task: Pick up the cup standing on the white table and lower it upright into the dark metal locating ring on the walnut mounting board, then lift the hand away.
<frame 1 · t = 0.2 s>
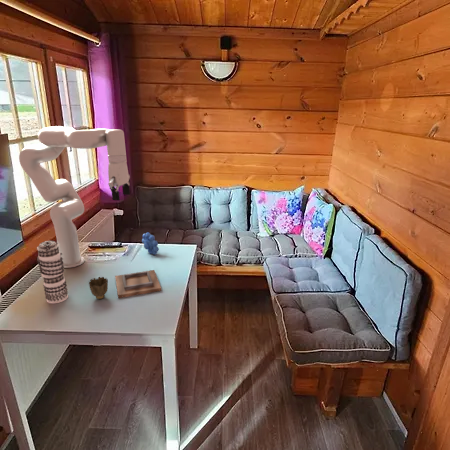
hand: (121, 197, 158), 37 cm above the table, tool pointing down, fingers open, 9 cm apart
cup: (100, 298, 148), on the table
decorative candle: (57, 298, 148), on the table
grapes: (149, 254, 189), on the table
mounting board: (137, 284, 158), on the table
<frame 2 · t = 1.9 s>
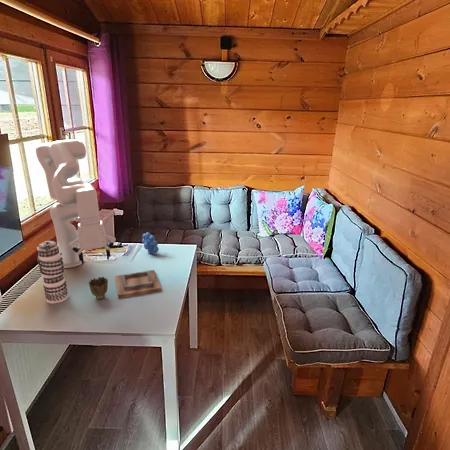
hand: (95, 260, 142), 18 cm above the table, tool pointing down, fingers open, 9 cm apart
nothing on the table moved.
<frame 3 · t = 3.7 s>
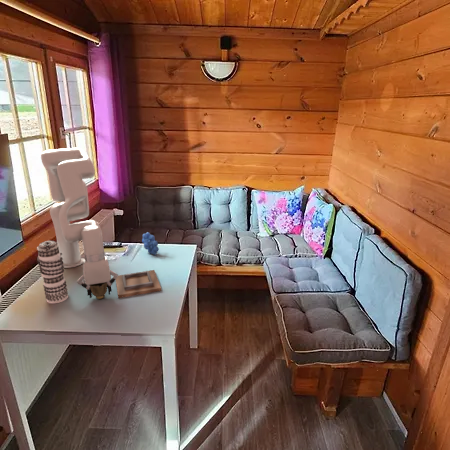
hand: (100, 294, 147), 2 cm above the table, tool pointing down, fingers closed on cup, 6 cm apart
cup: (100, 298, 148), on the table, touching gripper
everything else where it was.
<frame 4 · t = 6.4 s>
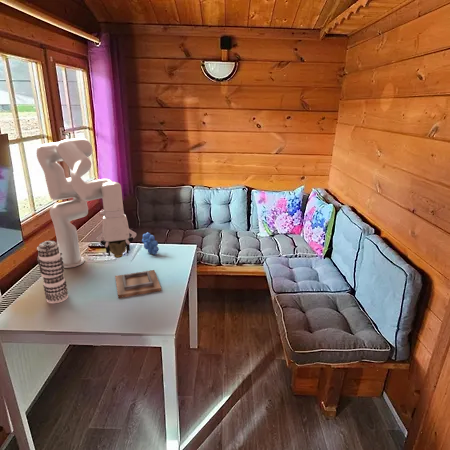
hand: (118, 253, 148), 18 cm above the table, tool pointing down, fingers closed on cup, 6 cm apart
cup: (118, 257, 148), point 16 cm above the table, touching gripper
everything else where it was.
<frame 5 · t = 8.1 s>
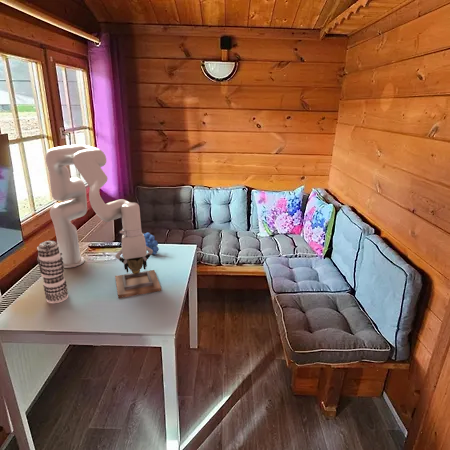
hand: (135, 269, 156), 8 cm above the table, tool pointing down, fingers closed on cup, 6 cm apart
cup: (136, 272, 156), point 6 cm above the table, touching gripper
everything else where it was.
when the fingers open (4 cm above the table, at t = 9.4 s): cup stays where it is, resting on mounting board.
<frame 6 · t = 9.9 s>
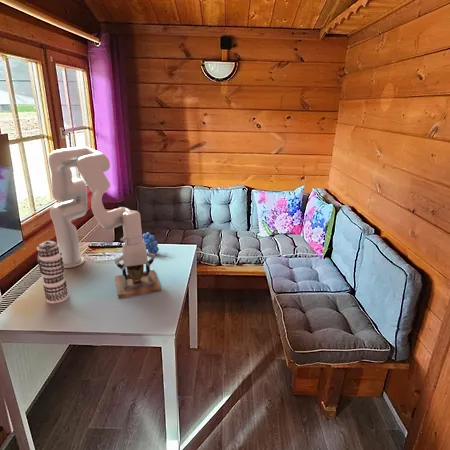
hand: (136, 275, 157), 5 cm above the table, tool pointing down, fingers open, 9 cm apart
cup: (136, 282, 158), point 1 cm above the table, touching mounting board
everything else where it was.
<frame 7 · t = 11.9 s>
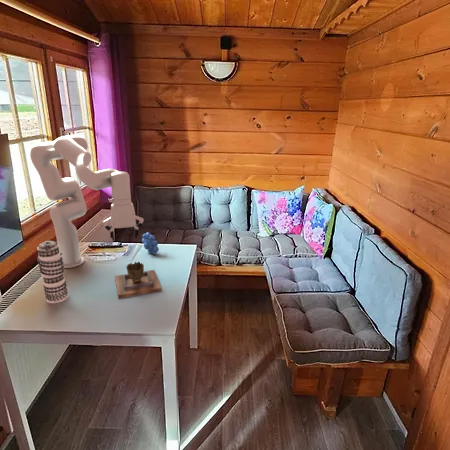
hand: (124, 238, 156), 21 cm above the table, tool pointing down, fingers open, 9 cm apart
nothing on the table moved.
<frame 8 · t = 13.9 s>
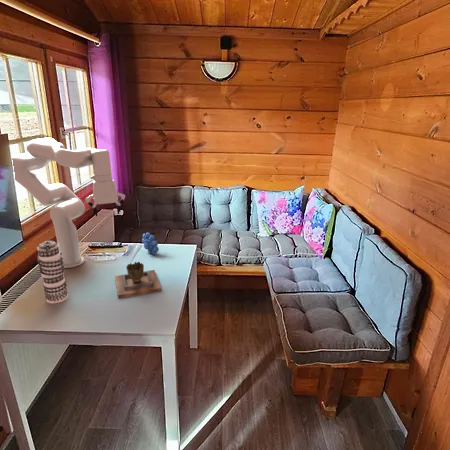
hand: (107, 214, 162), 28 cm above the table, tool pointing down, fingers open, 9 cm apart
nothing on the table moved.
at the end: cup 0.3 cm off-centre on the mounting board, point 1.3 cm above the mounting board's base; cup tilted 0°; the gripper is holding nothing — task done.
